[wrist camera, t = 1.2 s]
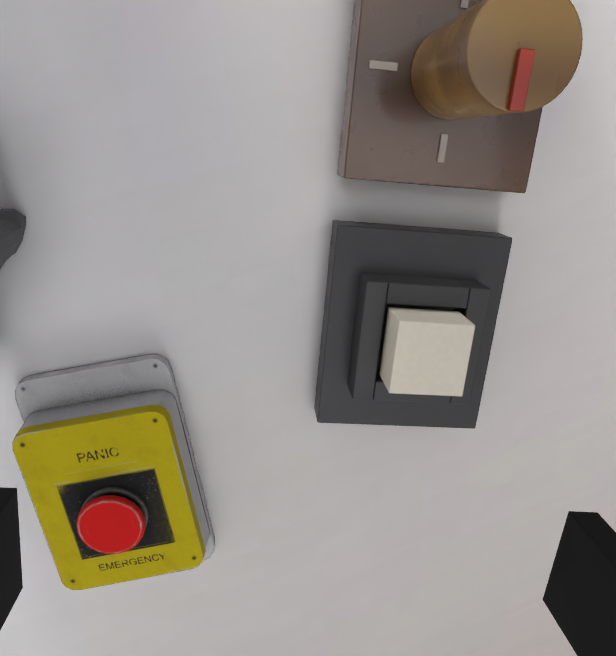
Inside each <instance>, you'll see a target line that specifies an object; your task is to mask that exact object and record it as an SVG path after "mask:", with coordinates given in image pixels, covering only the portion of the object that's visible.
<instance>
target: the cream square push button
mask: <svg viewBox="0 0 616 656" xmlns="http://www.w3.org/2000/svg"><path fill="white" fill-rule="evenodd" d="M474 330H475V325H474V324H473V323H472V322H471V321H470V320H468V319H467V318H466V317H465V316H464V315H462V314H461V313H460V312H459V311H445V310H429V309H412V308H396V307H389V308H388V314H387V322H386V329H385V336H384V344H383V351H382V359H381V366H380V376H381V378H382V380H383V382H384V384H385V386H386V388H387V390H388V392H389V393H396V394H419V395H442V396H462V395H463V390H464V384H465V379H466V374H467V368H468V363H469V357H470V352H471V347H472V341H473V336H474Z"/></svg>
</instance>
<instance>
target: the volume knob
mask: <svg viewBox="0 0 616 656" xmlns="http://www.w3.org/2000/svg"><path fill="white" fill-rule="evenodd" d="M581 50H582V28H581V23H580V20H579V17H578V14H577V12H576V10H575V7H574V6H573V4H572V3H571V1H570V0H483V1H481V2H480V3H478V4H477V5H475V6H473V7H472V8H470V9H469V10H467V11H465V12H464V13H462V14H461V15H459V16H457V17H456V18H454V19H453V20H451V21H449V22H448V23H446V24H445V25H443V26H441V27H440V28H438V29H437V30H435V31H433V32H432V33H431V34H430V35H428V36H427V37H426V38H425V39H424V41H423V42H422V43H421V44H420V46H419V48H418V49H417V51H416V54H415V56H414V59H413V62H412V67H411V84H412V89H413V92H414V95H415V97H416V99H417V101H418V102H419V104H420V105H421V106H422V107H423V108H424V109H425V110H426V111H427V112H428V113H430V114H431V115H433V116H435V117H437V118H440V119H445V120H457V119H467V118H476V117H485V116H494V115H503V114H512V113H521V112H528V111H532V110H535V109H538V108H540V107H542V106H544V105H546V104H548V103H549V102H551V101H552V100H553V99H555V98H556V97H557V96H558V95H559V94H560V93H561V92H562V91H563V90H564V88H565V87H566V86H567V85H568V83H569V82H570V80H571V79H572V77H573V75H574V73H575V71H576V68H577V66H578V63H579V59H580V56H581Z"/></svg>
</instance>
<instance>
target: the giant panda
mask: <svg viewBox="0 0 616 656" xmlns="http://www.w3.org/2000/svg"><path fill="white" fill-rule="evenodd" d="M25 222H26V217H25V216H24V215H22V214H21V213H19V212H18V211H17V210H15V209H0V269H1V267H2V266H3V264H4V263H5V261H6V260H7V259H8V258H9V257H10V256H11V255H13V254H14V253H16V251H17V249H18V247H19V245H20V243H21V241H22V239H23V234H24V230H25Z"/></svg>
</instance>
